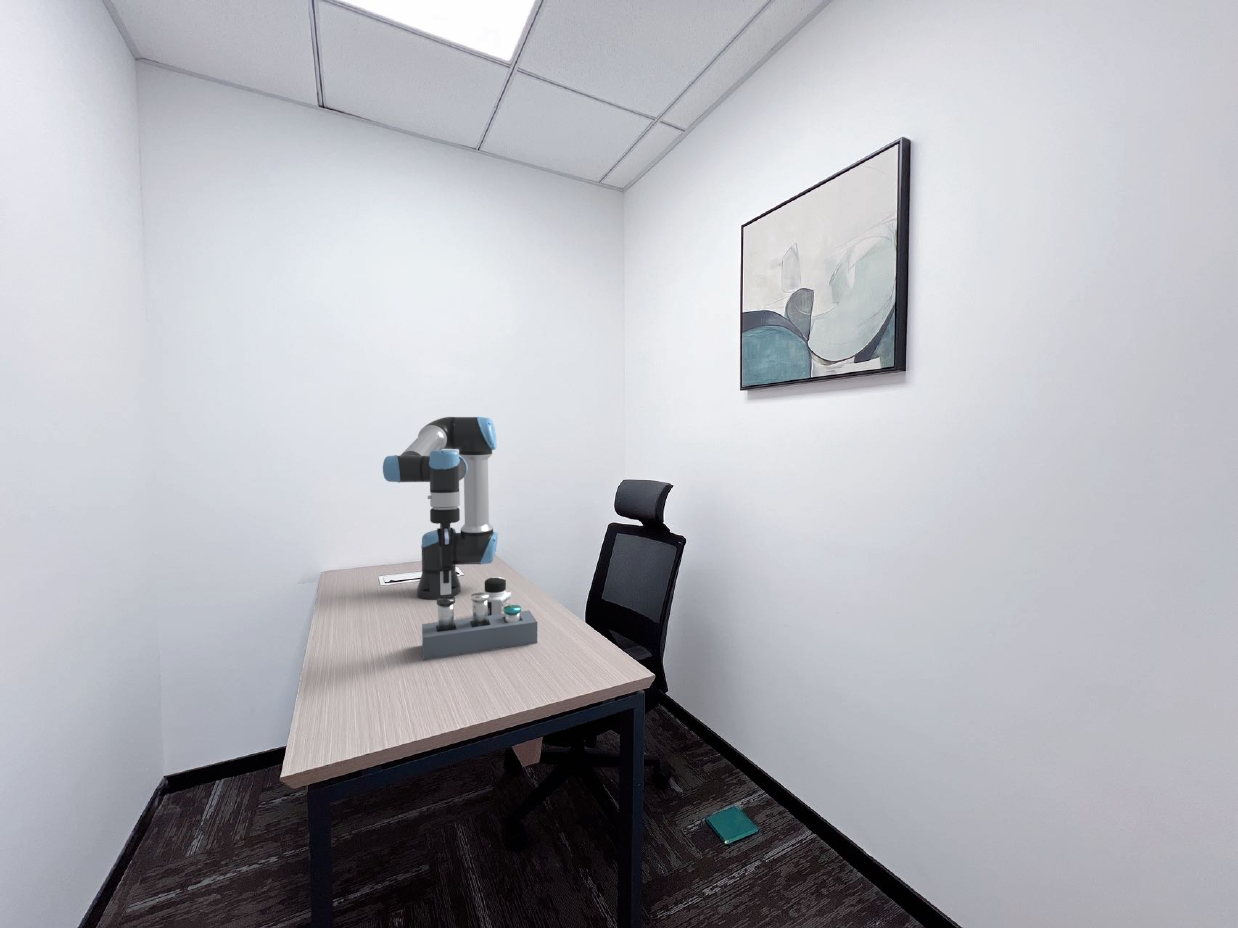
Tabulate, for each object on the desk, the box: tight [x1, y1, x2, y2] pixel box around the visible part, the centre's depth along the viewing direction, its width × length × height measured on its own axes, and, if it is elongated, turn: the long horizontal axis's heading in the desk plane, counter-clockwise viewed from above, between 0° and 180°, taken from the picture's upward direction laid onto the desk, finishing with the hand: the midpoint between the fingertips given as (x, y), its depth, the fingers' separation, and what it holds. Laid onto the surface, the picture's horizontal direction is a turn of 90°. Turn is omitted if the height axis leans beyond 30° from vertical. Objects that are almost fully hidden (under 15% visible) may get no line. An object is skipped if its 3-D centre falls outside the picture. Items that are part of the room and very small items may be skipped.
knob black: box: [436, 596, 456, 632], centre depth 137 cm, size 5×5×8 cm
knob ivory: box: [470, 592, 489, 627], centre depth 141 cm, size 5×5×8 cm
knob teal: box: [504, 604, 522, 623], centre depth 145 cm, size 5×5×8 cm
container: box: [484, 576, 512, 616], centre depth 160 cm, size 8×8×13 cm
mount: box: [421, 610, 538, 661], centre depth 141 cm, size 10×30×6 cm, turn 113°
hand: (445, 593), depth 137 cm, fingers closed
